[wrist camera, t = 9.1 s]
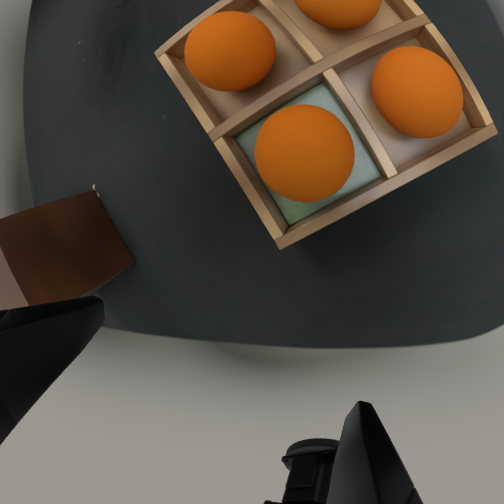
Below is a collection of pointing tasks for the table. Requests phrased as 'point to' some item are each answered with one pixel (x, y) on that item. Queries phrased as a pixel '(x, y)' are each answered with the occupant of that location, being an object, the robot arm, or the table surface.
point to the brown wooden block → (59, 252)
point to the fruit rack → (326, 106)
